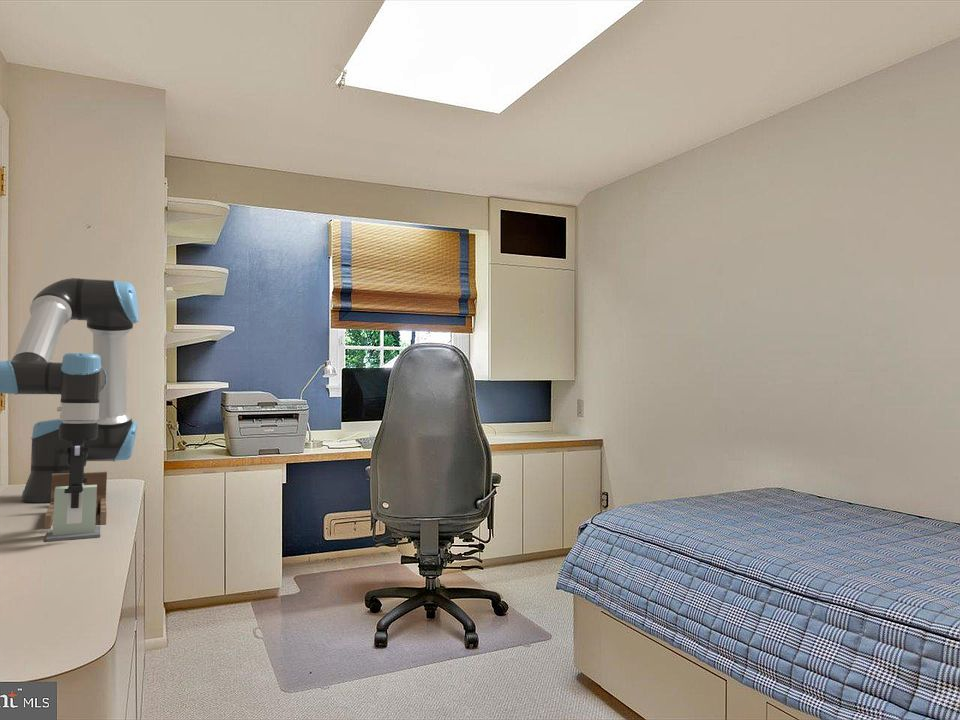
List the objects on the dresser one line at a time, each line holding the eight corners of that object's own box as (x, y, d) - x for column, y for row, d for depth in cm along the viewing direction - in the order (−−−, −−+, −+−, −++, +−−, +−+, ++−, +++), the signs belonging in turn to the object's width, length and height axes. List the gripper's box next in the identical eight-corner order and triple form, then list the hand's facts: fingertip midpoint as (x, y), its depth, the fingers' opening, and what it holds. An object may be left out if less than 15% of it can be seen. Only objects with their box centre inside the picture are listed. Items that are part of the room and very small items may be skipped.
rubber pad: (49, 532, 150) (49, 529, 150) (100, 528, 155) (100, 525, 155) (46, 541, 142) (46, 538, 142) (100, 537, 147) (100, 534, 147)
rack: (50, 512, 173) (52, 473, 173) (105, 509, 179) (106, 471, 179) (44, 528, 154) (46, 485, 154) (106, 524, 160) (107, 482, 161)
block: (53, 531, 148) (55, 486, 149) (95, 528, 152) (97, 484, 153) (52, 535, 145) (54, 489, 145) (95, 532, 149) (96, 487, 149)
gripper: (62, 419, 159) (58, 509, 158) (56, 425, 137) (51, 529, 136) (98, 419, 162) (94, 507, 161) (98, 424, 141) (94, 526, 140)
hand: (75, 517), depth 149 cm, fingers open, 13 cm apart
